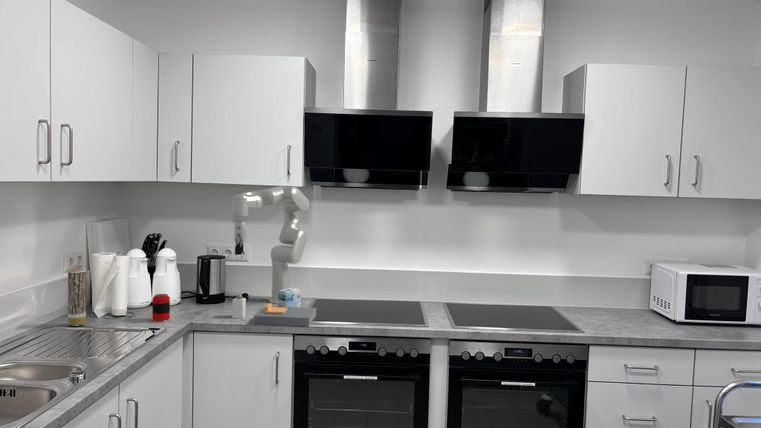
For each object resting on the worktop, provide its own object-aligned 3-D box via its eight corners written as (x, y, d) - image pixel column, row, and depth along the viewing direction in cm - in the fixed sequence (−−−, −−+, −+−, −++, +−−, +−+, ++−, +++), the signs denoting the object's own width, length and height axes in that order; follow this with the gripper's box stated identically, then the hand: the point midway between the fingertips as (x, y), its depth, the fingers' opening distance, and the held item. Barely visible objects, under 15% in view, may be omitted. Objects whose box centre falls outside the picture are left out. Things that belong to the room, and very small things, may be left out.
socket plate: (265, 313, 263) (265, 305, 263) (316, 315, 262) (316, 307, 261) (254, 324, 243) (254, 315, 243) (308, 326, 242) (309, 318, 241)
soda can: (152, 322, 241) (152, 297, 240) (152, 318, 248) (152, 293, 247) (169, 321, 244) (169, 296, 243) (169, 317, 251) (169, 293, 250)
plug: (235, 315, 258) (235, 293, 257) (245, 315, 258) (245, 294, 257) (232, 318, 253) (232, 295, 252) (242, 318, 253) (242, 296, 252)
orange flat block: (269, 308, 257) (269, 303, 257) (287, 309, 256) (287, 303, 256) (264, 313, 248) (264, 307, 248) (283, 313, 248) (283, 308, 247)
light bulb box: (286, 312, 266) (286, 292, 265) (277, 310, 270) (277, 290, 269) (301, 309, 275) (301, 289, 274) (292, 307, 279) (292, 287, 278)
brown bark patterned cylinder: (66, 327, 229) (65, 271, 228) (70, 323, 236) (70, 269, 234) (83, 327, 231) (83, 271, 229) (87, 323, 237) (87, 269, 236)
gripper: (246, 220, 250) (245, 255, 250) (249, 218, 267) (248, 251, 267) (230, 220, 248) (229, 255, 249) (233, 218, 265) (233, 251, 266)
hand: (239, 253), depth 258 cm, fingers open, 9 cm apart
